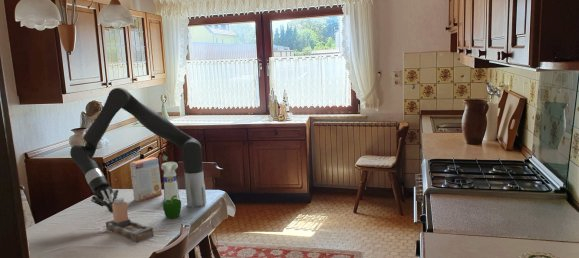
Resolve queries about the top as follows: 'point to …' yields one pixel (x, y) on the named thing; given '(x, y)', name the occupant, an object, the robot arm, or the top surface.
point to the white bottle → (170, 179)
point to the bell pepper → (172, 207)
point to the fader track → (131, 231)
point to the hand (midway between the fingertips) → (113, 211)
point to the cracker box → (145, 178)
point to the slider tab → (120, 213)
